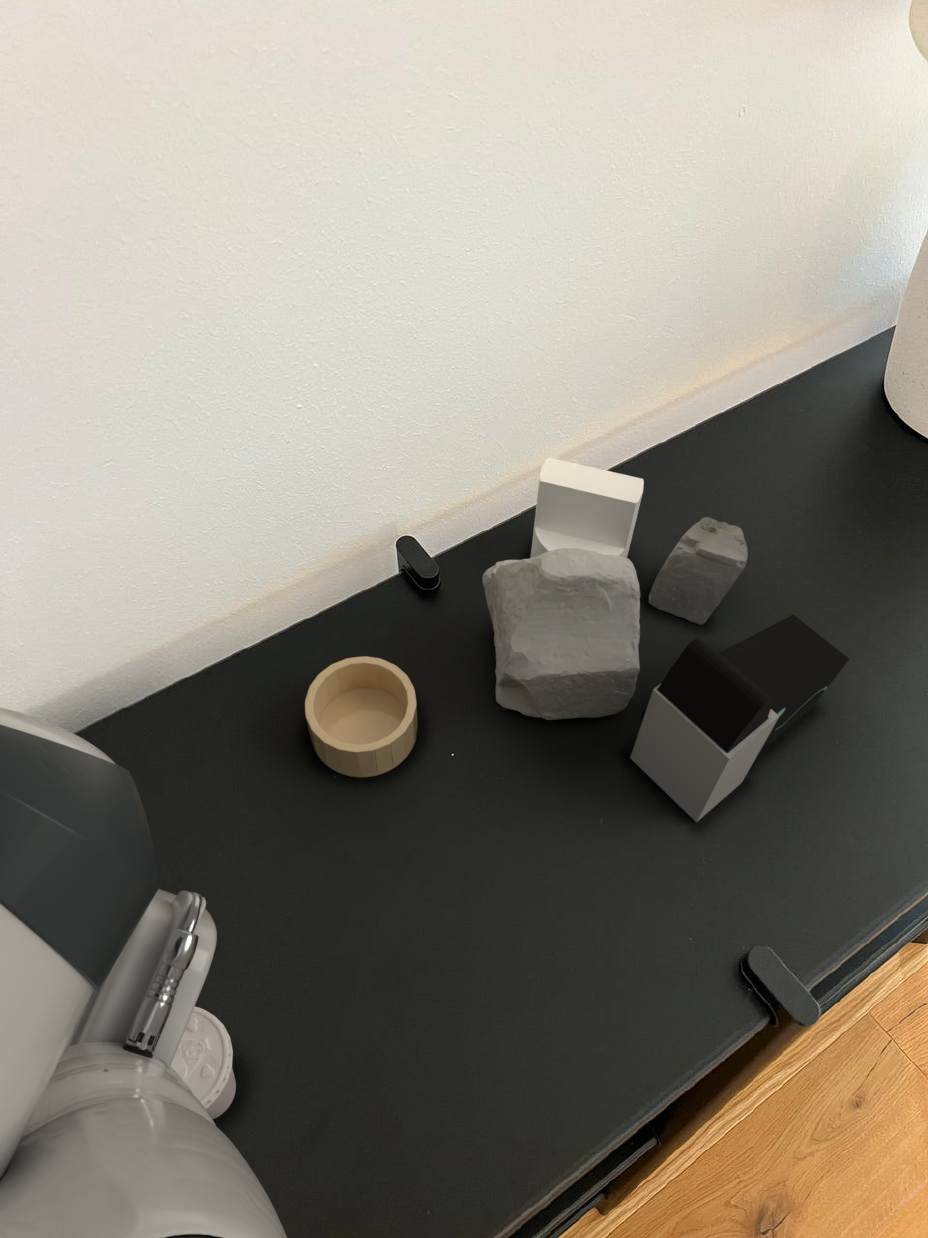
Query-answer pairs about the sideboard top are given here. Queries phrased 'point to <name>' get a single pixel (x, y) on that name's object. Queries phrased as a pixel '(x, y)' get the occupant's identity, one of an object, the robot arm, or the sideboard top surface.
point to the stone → (565, 633)
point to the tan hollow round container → (362, 716)
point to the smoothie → (206, 1062)
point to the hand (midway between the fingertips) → (60, 1091)
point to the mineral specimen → (700, 570)
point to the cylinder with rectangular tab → (585, 509)
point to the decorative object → (729, 709)
